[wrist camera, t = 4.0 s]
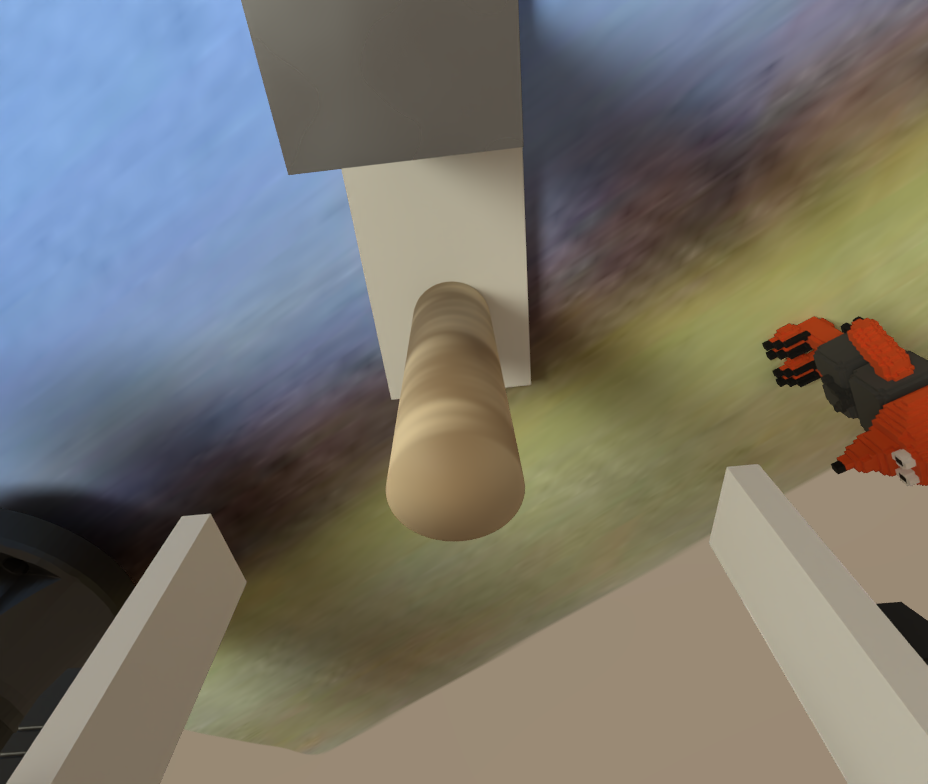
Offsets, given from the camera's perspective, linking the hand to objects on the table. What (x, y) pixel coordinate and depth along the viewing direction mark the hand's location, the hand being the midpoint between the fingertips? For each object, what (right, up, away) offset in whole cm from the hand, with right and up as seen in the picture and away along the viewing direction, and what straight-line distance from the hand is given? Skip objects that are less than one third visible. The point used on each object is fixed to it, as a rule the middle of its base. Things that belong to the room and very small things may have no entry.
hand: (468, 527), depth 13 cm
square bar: (-2, +17, +7) cm, 18 cm away
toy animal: (+19, +6, +15) cm, 25 cm away
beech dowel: (-1, +7, +12) cm, 14 cm away
